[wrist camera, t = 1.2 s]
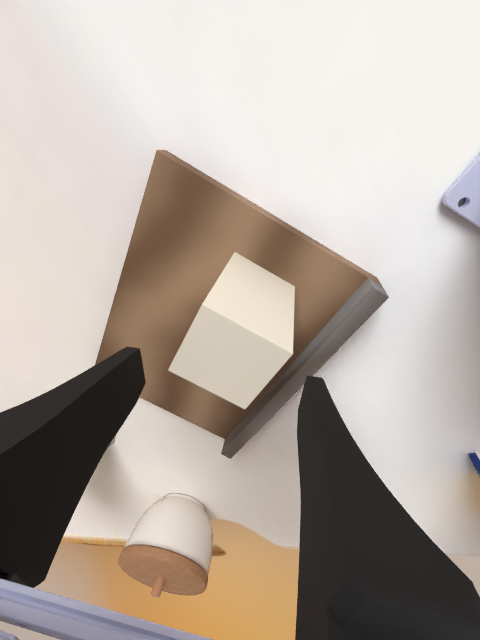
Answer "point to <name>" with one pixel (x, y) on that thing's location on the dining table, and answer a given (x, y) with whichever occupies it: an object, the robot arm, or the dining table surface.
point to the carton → (239, 333)
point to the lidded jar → (171, 547)
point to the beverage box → (475, 460)
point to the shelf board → (199, 278)
